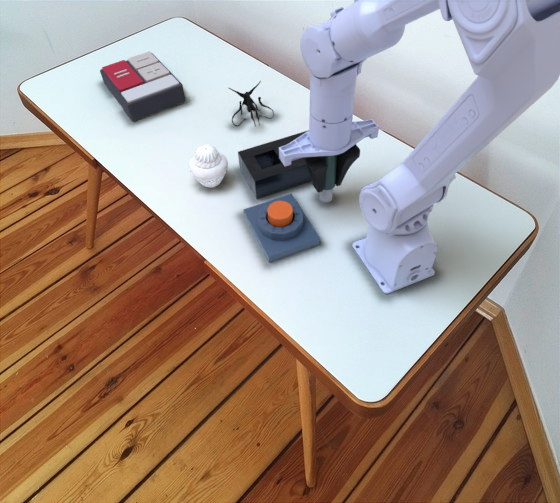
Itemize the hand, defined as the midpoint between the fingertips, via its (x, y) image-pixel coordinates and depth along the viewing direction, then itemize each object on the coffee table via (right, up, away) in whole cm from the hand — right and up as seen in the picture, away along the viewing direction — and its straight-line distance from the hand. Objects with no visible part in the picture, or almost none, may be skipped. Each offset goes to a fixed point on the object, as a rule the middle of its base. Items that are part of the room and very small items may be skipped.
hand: (326, 184), depth 78 cm
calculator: (-33, +20, +21) cm, 44 cm away
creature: (-12, +14, +16) cm, 24 cm away
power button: (-7, -5, -4) cm, 9 cm away
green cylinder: (0, -2, +2) cm, 3 cm away
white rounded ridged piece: (-18, +1, +6) cm, 19 cm away
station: (-7, -7, -1) cm, 10 cm away
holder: (-6, +3, +6) cm, 9 cm away
